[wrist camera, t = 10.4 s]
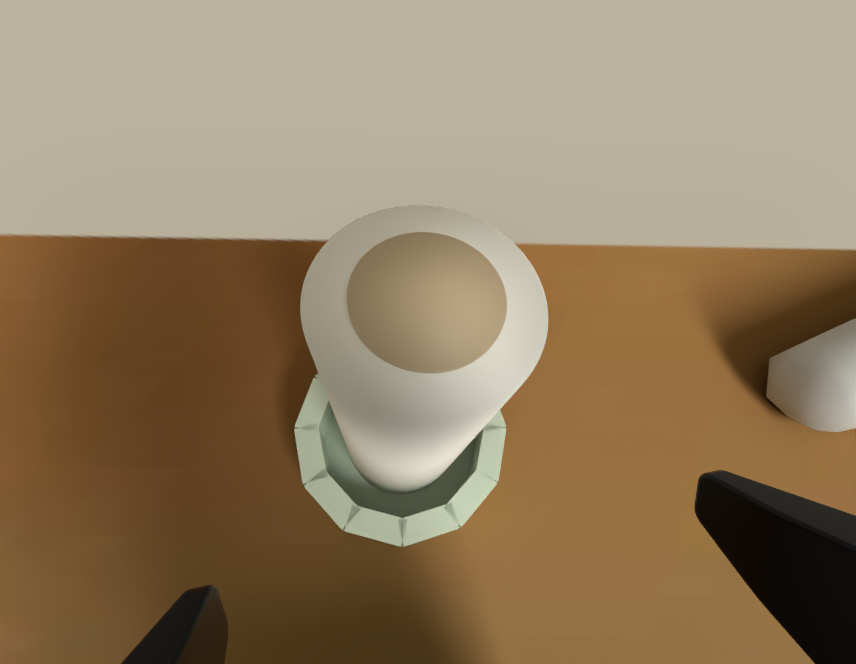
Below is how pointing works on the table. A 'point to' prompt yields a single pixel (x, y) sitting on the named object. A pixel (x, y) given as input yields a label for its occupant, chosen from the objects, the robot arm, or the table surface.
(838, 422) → the tube
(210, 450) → the table surface
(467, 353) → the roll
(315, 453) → the holder
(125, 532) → the table surface
